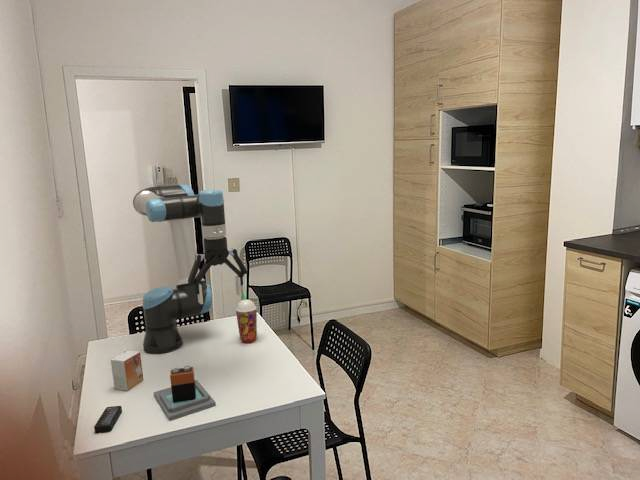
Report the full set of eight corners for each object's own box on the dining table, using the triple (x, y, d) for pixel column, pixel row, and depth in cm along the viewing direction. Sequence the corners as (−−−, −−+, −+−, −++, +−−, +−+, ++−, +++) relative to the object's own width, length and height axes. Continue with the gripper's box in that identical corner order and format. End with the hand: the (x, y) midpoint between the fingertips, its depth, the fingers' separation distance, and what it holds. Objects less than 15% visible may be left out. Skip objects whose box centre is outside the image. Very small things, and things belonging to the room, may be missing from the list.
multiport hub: (94, 434, 133) (93, 427, 133) (107, 413, 144) (106, 406, 144) (111, 433, 134) (109, 425, 133) (122, 412, 145) (121, 405, 144)
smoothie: (241, 336, 199) (238, 290, 195) (261, 336, 198) (257, 289, 194) (235, 344, 191) (231, 296, 187) (255, 344, 190) (252, 296, 186)
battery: (195, 399, 147) (192, 369, 145) (172, 403, 145) (169, 372, 143) (195, 392, 151) (192, 363, 149) (173, 396, 149) (170, 366, 148)
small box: (127, 391, 157) (123, 361, 155) (114, 389, 159) (110, 359, 157) (144, 380, 164) (140, 351, 162) (131, 378, 166) (127, 349, 164)
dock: (154, 395, 153) (153, 388, 153) (196, 382, 160) (196, 376, 160) (169, 420, 138) (168, 413, 138) (215, 405, 145) (215, 398, 145)
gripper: (180, 244, 148) (187, 309, 152) (254, 233, 161) (258, 294, 165) (173, 240, 155) (180, 303, 159) (245, 231, 167) (249, 289, 171)
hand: (220, 299), depth 162 cm, fingers open, 13 cm apart
